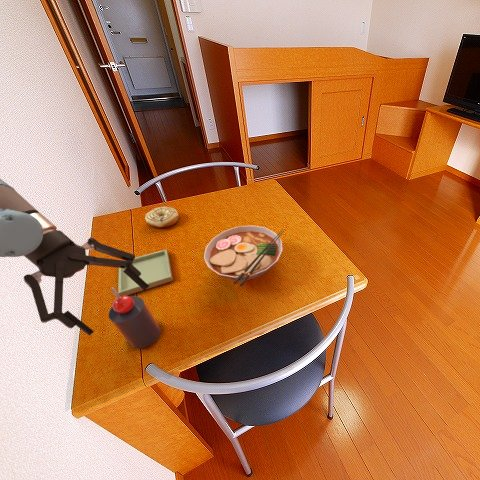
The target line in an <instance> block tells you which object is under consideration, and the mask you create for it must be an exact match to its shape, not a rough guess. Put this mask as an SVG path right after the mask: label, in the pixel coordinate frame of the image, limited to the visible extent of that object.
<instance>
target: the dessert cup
mask: <svg viewBox="0 0 480 480" xmlns="http://www.w3.org/2000/svg"><path fill="white" fill-rule="evenodd" d="M110 291H111V292H112V293H113V295H114V296H115V297H116V298H115V299H114V300H113V301H112V306H111V308H110V310H109V311H108V319H109V320H110V321H111V323H112V324H113V325H114V326H115V327H116V329H117V330H118V331H119V333H120V334H121V335H122V336H123V337H124V339H125V340H126V341H127V342H128V344H129V345H130V346H131V347H132V348H134V349H139V350H140V349H146V348H147V347H150V346H152V345H153V344H154V343H156V341H157V340H158V339H159V338H160V336H161V332H162V329H161V327H160V325H159V323H158V321H157V320H156V318H155V317H154V316H153V314H152V312H151V310H150V309H149V307H148V306H147V304H146V303H145V300H143V298H142V297H140V296H135V295H133V296H130V295H123V296H120V295H119V293H118V291H117V290H116V288H115V287H113V286H112V287H111V288H110Z"/></svg>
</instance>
